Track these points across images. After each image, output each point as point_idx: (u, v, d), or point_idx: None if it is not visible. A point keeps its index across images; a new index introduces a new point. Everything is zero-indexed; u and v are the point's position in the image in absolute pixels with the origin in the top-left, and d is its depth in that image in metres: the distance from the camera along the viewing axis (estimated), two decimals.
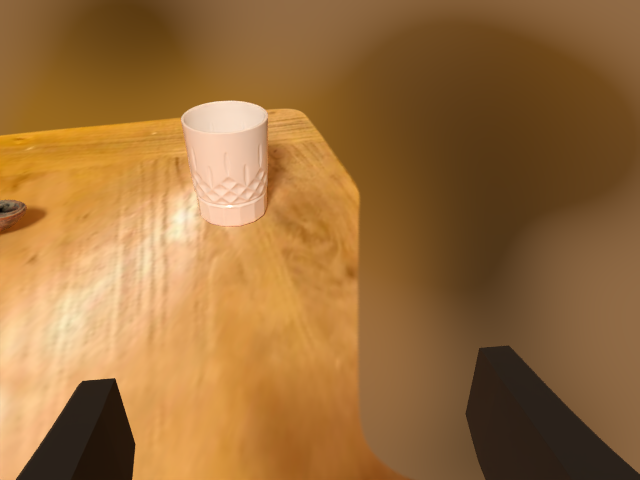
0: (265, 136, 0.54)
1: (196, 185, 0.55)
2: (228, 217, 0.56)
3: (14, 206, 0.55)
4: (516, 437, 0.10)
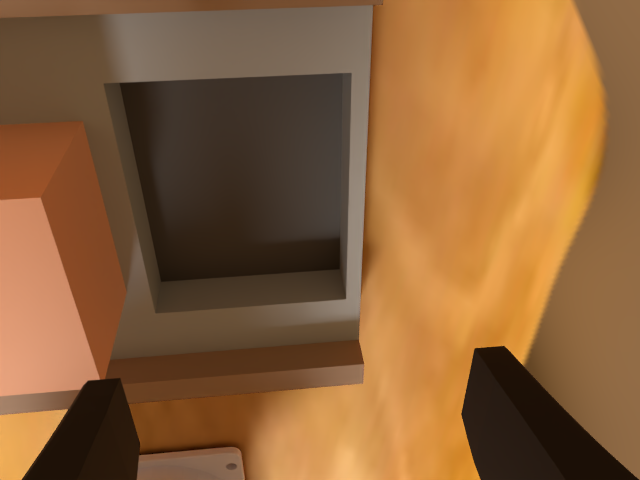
0: None
1: None
2: None
3: None
4: (511, 438, 0.10)
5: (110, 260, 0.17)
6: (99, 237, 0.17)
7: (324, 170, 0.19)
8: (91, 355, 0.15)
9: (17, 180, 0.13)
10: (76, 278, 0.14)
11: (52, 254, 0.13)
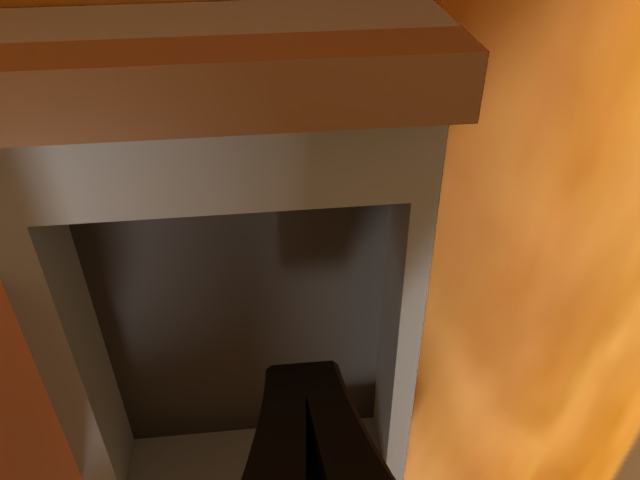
0: None
1: None
2: None
3: None
4: (315, 457, 0.10)
5: (52, 457, 0.12)
6: (30, 439, 0.11)
7: (358, 305, 0.14)
8: None
9: None
10: None
11: None
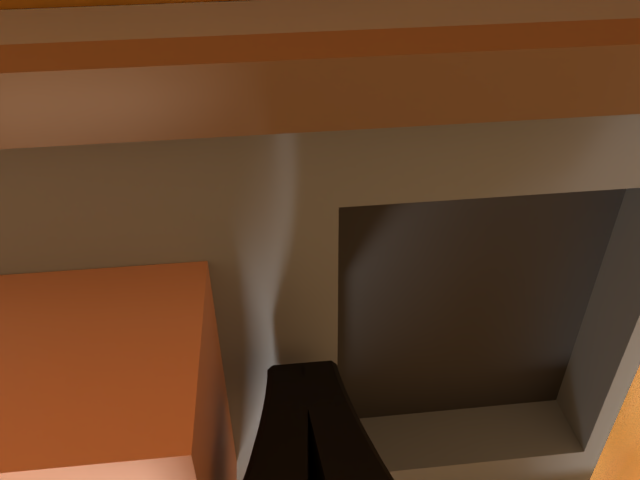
0: None
1: None
2: None
3: None
4: (314, 457, 0.10)
5: (229, 439, 0.12)
6: (222, 420, 0.11)
7: (571, 288, 0.14)
8: None
9: (141, 407, 0.08)
10: None
11: None
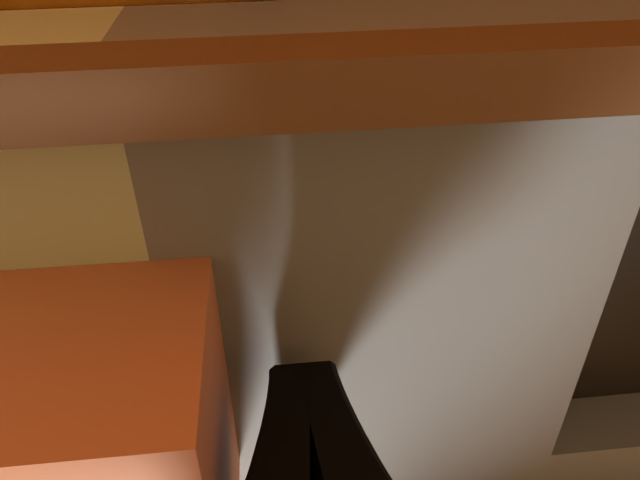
0: None
1: None
2: None
3: None
4: (312, 457, 0.10)
5: (232, 436, 0.12)
6: (226, 417, 0.11)
7: None
8: None
9: (144, 402, 0.08)
10: None
11: None
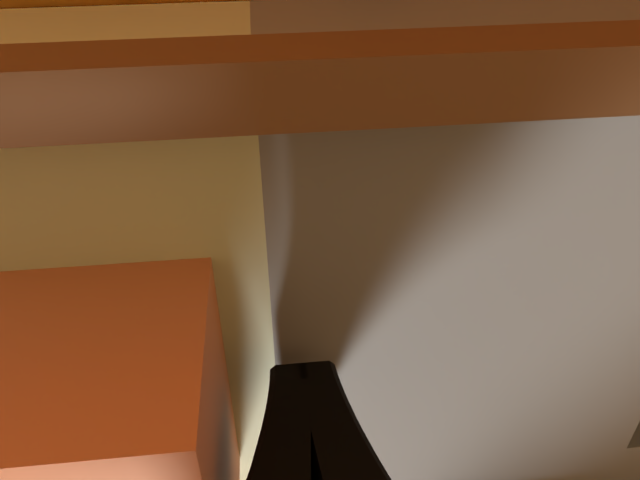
0: None
1: None
2: None
3: None
4: (312, 457, 0.10)
5: (232, 436, 0.12)
6: (226, 417, 0.11)
7: None
8: None
9: (145, 402, 0.08)
10: None
11: None
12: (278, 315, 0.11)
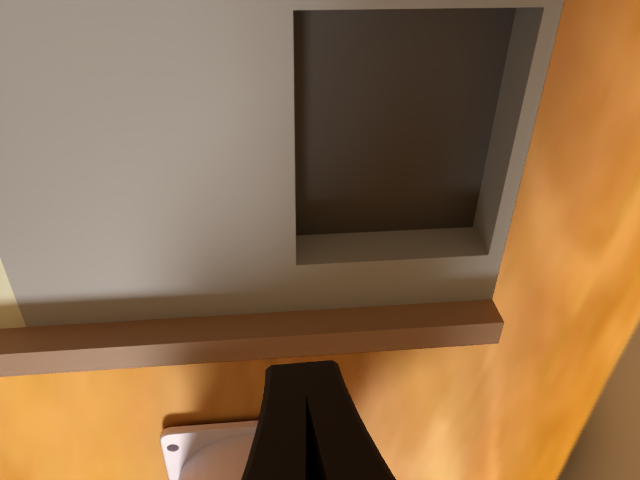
0: None
1: None
2: None
3: None
4: (315, 457, 0.10)
5: None
6: None
7: (477, 119, 0.19)
8: None
9: None
10: None
11: None
12: None
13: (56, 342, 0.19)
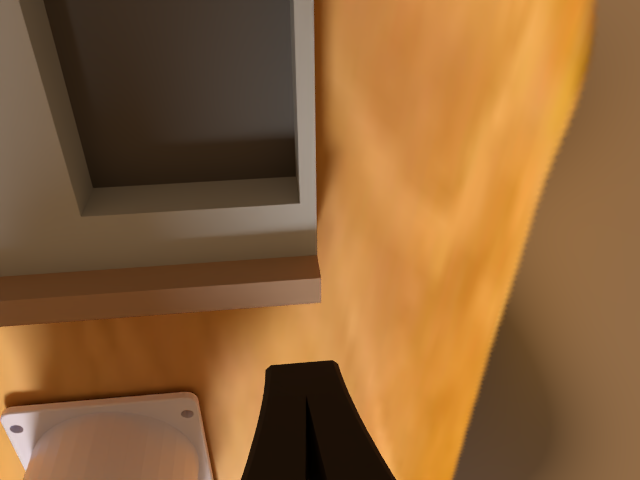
0: None
1: None
2: None
3: None
4: (315, 457, 0.10)
5: None
6: None
7: (272, 50, 0.17)
8: None
9: None
10: None
11: None
12: None
13: None
